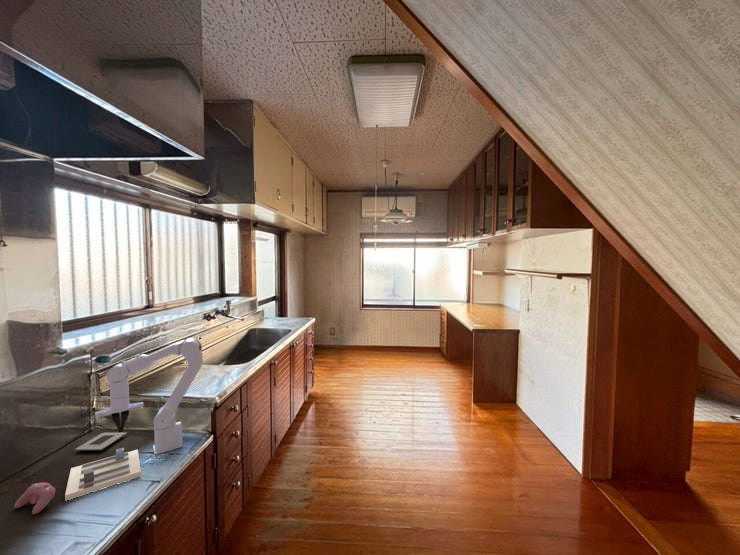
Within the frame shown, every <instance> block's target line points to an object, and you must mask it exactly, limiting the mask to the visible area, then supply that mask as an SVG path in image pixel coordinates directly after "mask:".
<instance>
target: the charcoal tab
mask: <svg viewBox="0 0 740 555" xmlns="http://www.w3.org/2000/svg"><path fill="white" fill-rule="evenodd" d="M91 481H94V468H93V469H90V470H86V471H84V483H88V482H91Z"/></svg>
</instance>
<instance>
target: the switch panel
mask: <svg viewBox="0 0 740 555" xmlns="http://www.w3.org/2000/svg"><path fill="white" fill-rule="evenodd" d="M139 456H140V455H139V450H138V449H134V450H131V451H126V452H124V458H123V459H119V460H116V454H115V455H112V456H108V457H105V458H101V459H98V460H94V461H90V462H87V463H83V464H81V465H78V466H74V467H71V468H70V472H69V476H68V480H67V485H66V489H65V494H64V501H66V502H68V501H67V500H69V501H72V500H74V499H73V498H76V497H79V496H82V495H84V494H87V493H89V492H92V491H95V490H98V489H101V488H104V487H108V486H111V485H114V484H117V483H121V482H124V481H128V480H131V479H134V478H137V477H140V476H141V477H142V470H141V463H140V457H139ZM93 468H94V481H91V482H88V483H84V471H86V470H90V469H93ZM141 477H140V478H141ZM137 479H138V478H137ZM134 480H135V479H134ZM131 481H132V480H131ZM128 482H129V481H128ZM82 497H83V496H82ZM79 498H80V497H79ZM71 499H72V500H71ZM76 499H77V498H76Z"/></svg>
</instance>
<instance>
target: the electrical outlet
mask: <svg viewBox="0 0 740 555" xmlns="http://www.w3.org/2000/svg"><path fill="white" fill-rule="evenodd" d="M127 434H128V432H124V431H123V432H121V433H119V432H102V433H100V434H98V435H97V436H94V437H93V438H91V439H89V440H88V441H86V442H85V443H83V444H82V445H80V446H77V447H76V448H74V451H77V452H78V451H79V452H81V451H83V452H85V451H87V452H89V451H91V452H93V451H99V452H101V451H103V450H105V449H106V448H107V447H109V446H111V445H112V444H114V443H115V442H117V441H118V440H119V439H121V438H124V436H125V435H127Z"/></svg>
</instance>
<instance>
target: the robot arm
mask: <svg viewBox="0 0 740 555" xmlns="http://www.w3.org/2000/svg"><path fill="white" fill-rule="evenodd" d="M171 355H174V356H180V355H181V356H182V357H183V358H184V359H185V360H186V362H187V364H188V365H187V368H186V369H185V371H184V373H183V374H182V375H181V377H180V379H179V381H178V383H177V384H176V386H175V388H174V389H173V390H172V392H171V394H170V396H169V398H168V400H167V401H166V402H165V404H163V405H162V406H161V407H160V408H159V409H158V412H157V413H156V415H155V416H154V418H153V420H152V421H153V422H152V424H153V426H154V430H153V432H154V444H153V446H152V449H153V453H154V455H160V454H163V453H165V452H169V451H172V450H177V449H179V448H182V447H184V445H183V444H184V443H183V439H184V437H183V425H182V422H181V421H176V420H175V418H174V417H175V415H176V413H177V409H178V407H179V405H180V404H181V401H182V399H183V398H184V396H185V395H186V394H187V391H188V389H189V388H190V387H191V385H192V384H193V381H194V380H195V378H196V376H197V374H198V373H199V371H200V369H201V368H202V365H203V363H204V361H203V360H204V358H203V346H202V344H201V342H200V340H199V339H198V338H196V337H194V336H193V337H188V338H186V339H181V340H179V341H177V342H174V343H172V344H170V345H167V346H165V347H163V348H161V349H158V350H157V351H154V352H152V353H150V354H144V353H142V354H140V353H138V354H135V355H134V357H133V358H132V357H131V358H130V359H128V360H123V361H121V362H120V363H118V364H115V365H114V366H113V367H112V368H110V369H109V370H108V371H107V376H106V377H107V379H108V380H109V395H110V396H109V399H110V401H109V402H110V407H108V408H106V409H102V410H99V411H95V414H94V415H95V416H94V418H95V419H96V420H97V419H99V418H102V417H106V416H111V417H110V418H111V419H112V421H113V422H114V424H115V426H116V428H117V433H121V432H124V429H125V428H124V427H125V425H126V422H127V420H128V418H129V414H130V412H131V411H134V410H139V409H140V410H141V409H142V410H143V409H144V402H143V401H141V402H136V403H135V402H134V403H133V402H132V403H130V382H129V376H132V375H135V374H137V373H139V372H141V371H144V370H146V369H148V368H150V367H151V364H152V363H154V362H156V361H159V360H161V359H163V358H166V357H169V356H171Z"/></svg>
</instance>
